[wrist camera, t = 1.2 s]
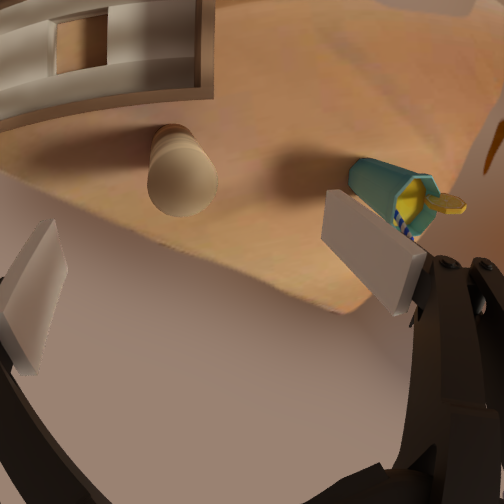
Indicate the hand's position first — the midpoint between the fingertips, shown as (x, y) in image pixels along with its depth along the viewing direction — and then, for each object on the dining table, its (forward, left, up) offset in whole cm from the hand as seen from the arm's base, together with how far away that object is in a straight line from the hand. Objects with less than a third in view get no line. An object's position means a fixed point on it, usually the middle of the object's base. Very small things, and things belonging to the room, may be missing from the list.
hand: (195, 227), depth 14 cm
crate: (-12, -9, -20) cm, 25 cm away
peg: (0, 0, -20) cm, 20 cm away
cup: (+5, +23, -20) cm, 31 cm away
